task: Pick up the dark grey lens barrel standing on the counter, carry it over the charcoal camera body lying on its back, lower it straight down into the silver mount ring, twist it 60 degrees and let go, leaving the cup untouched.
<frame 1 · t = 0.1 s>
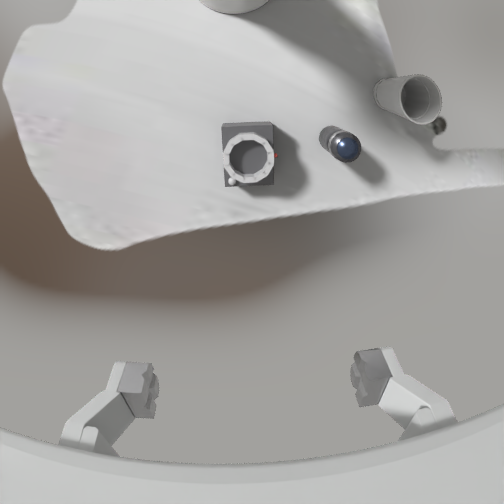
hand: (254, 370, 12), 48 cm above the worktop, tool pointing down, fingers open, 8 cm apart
camera body: (247, 150, 54), on the worktop
lens: (331, 138, 54), on the worktop
cup: (388, 94, 50), on the worktop
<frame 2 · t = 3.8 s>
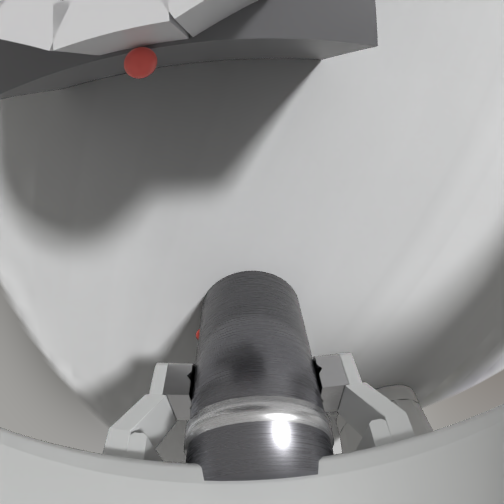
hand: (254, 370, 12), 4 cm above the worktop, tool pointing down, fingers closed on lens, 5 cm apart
lens: (250, 311, 15), on the worktop, touching gripper
cup: (375, 408, 21), on the worktop
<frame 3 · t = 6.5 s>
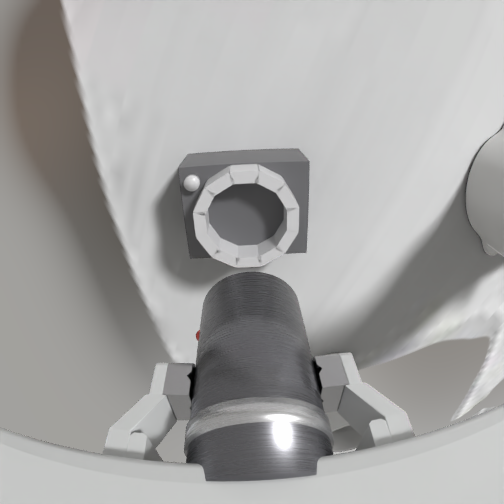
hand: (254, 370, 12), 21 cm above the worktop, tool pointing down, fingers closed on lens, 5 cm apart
camera body: (245, 191, 30), on the worktop
lens: (251, 312, 15), point 17 cm above the worktop, touching gripper
cup: (331, 366, 43), on the worktop
when the fingers open (9 cm above the worktop, at t = 9.4 s): lens stays where it is, resting on camera body.
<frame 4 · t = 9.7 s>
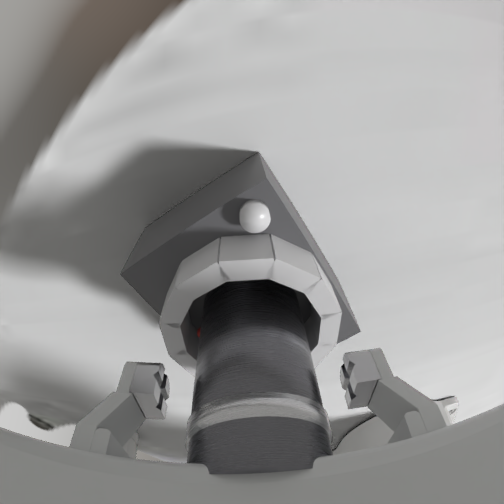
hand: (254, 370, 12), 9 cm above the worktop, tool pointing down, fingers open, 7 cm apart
camera body: (247, 255, 20), on the worktop
lens: (251, 309, 15), point 5 cm above the worktop, touching camera body
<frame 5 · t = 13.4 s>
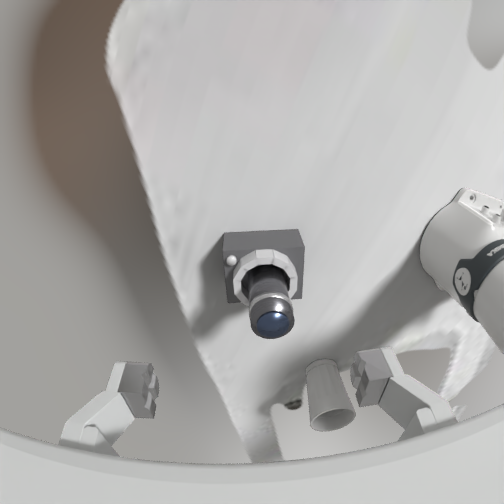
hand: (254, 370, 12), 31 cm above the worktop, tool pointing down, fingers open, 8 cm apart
camera body: (262, 256, 46), on the worktop
lens: (265, 276, 41), point 5 cm above the worktop, touching camera body
cup: (320, 368, 59), on the worktop
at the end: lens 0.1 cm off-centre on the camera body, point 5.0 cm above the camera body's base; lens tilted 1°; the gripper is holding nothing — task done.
